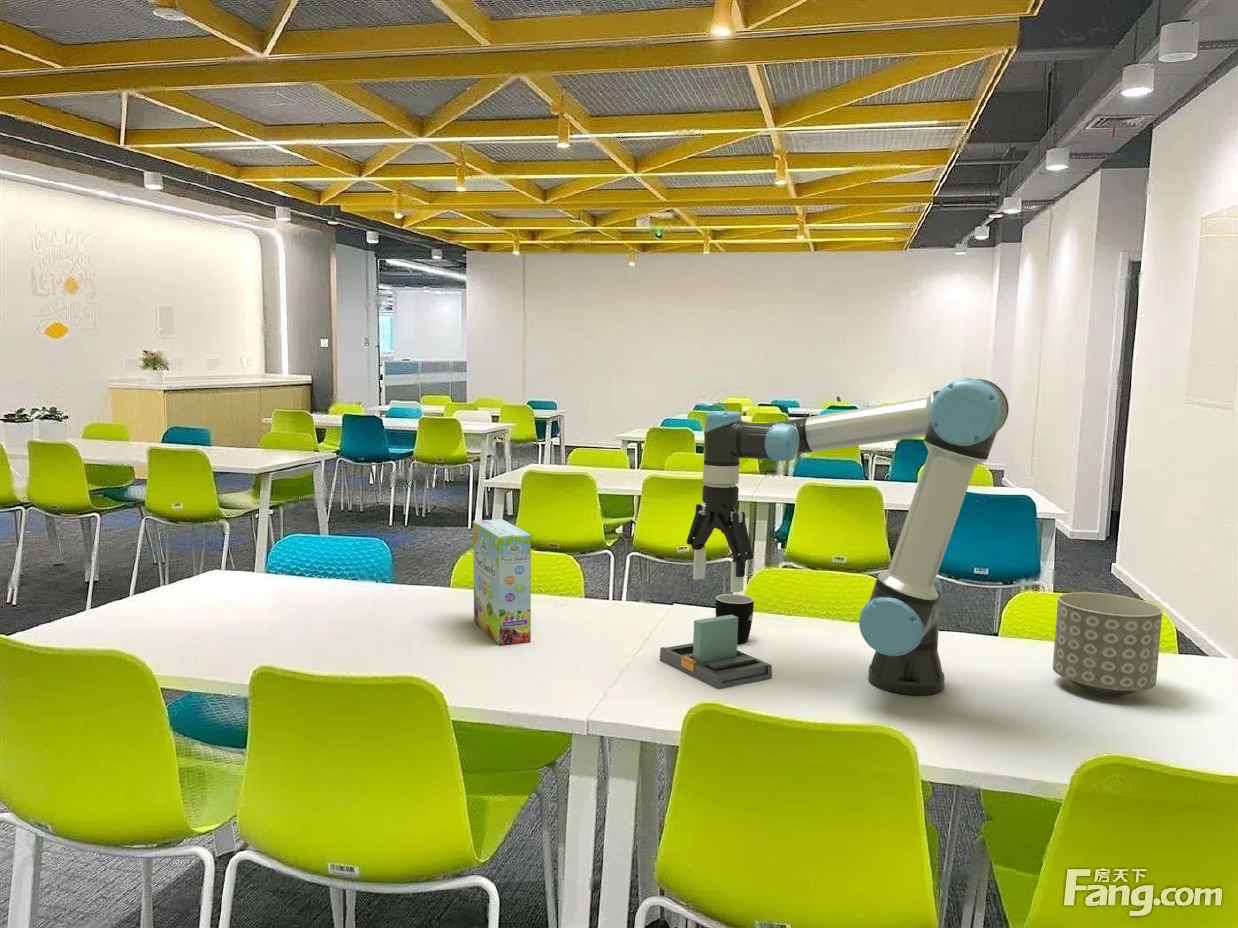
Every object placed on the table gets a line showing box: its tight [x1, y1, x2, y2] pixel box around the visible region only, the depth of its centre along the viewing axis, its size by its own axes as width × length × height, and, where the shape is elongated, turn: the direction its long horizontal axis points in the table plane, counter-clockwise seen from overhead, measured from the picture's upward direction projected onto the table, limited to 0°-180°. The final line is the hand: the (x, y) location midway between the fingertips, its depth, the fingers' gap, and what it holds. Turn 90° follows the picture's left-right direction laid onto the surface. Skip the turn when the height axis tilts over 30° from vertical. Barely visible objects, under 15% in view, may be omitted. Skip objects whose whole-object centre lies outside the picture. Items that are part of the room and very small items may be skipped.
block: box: [692, 615, 738, 663], centre depth 199 cm, size 2×10×10 cm, turn 122°
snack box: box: [472, 518, 532, 646], centre depth 222 cm, size 22×9×26 cm, turn 25°
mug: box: [715, 593, 755, 645], centre depth 222 cm, size 12×9×10 cm
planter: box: [1052, 591, 1163, 697], centre depth 192 cm, size 19×19×18 cm
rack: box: [659, 642, 773, 690], centre depth 199 cm, size 21×14×4 cm
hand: (717, 585), depth 198 cm, fingers open, 12 cm apart
